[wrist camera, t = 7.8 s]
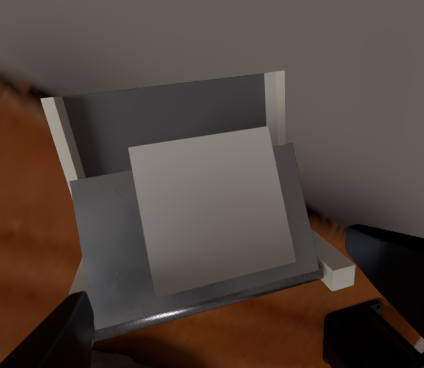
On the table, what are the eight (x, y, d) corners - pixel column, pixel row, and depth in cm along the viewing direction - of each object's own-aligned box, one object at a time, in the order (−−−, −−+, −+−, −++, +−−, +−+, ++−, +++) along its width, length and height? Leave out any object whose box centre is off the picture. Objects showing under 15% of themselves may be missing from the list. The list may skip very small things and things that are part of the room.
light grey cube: (251, 242, 14) (296, 262, 10) (159, 264, 14) (155, 298, 9) (233, 152, 15) (268, 126, 10) (141, 167, 14) (128, 147, 9)
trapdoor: (316, 276, 16) (325, 280, 15) (97, 336, 14) (93, 345, 13) (288, 145, 16) (295, 142, 15) (71, 183, 14) (64, 181, 13)
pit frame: (287, 237, 23) (352, 302, 16) (94, 283, 20) (66, 389, 13) (284, 71, 18) (373, 57, 11) (34, 100, 16) (-61, 106, 8)
